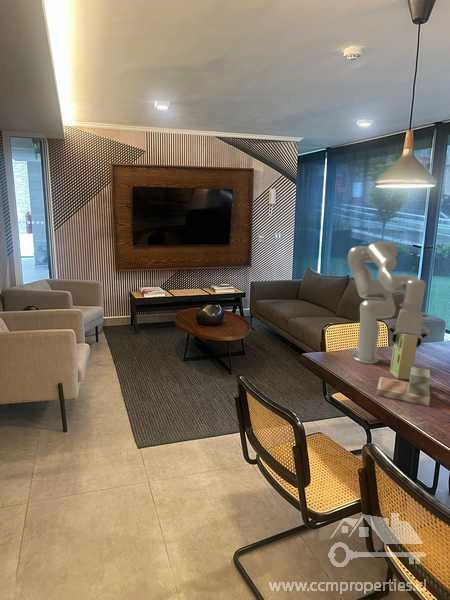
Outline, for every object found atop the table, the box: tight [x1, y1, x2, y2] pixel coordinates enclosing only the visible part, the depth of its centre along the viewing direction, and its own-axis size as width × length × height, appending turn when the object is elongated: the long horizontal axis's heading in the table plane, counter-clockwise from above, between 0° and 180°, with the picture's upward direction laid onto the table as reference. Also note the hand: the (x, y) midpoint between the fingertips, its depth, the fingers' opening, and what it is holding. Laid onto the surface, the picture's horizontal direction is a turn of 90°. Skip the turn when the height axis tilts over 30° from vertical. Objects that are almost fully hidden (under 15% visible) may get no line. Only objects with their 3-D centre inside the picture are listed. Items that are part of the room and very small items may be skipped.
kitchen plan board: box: [376, 366, 431, 407], centre depth 179 cm, size 20×14×11 cm
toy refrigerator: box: [389, 332, 418, 380], centre depth 191 cm, size 8×7×21 cm
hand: (405, 344), depth 189 cm, fingers closed on toy refrigerator, 9 cm apart
